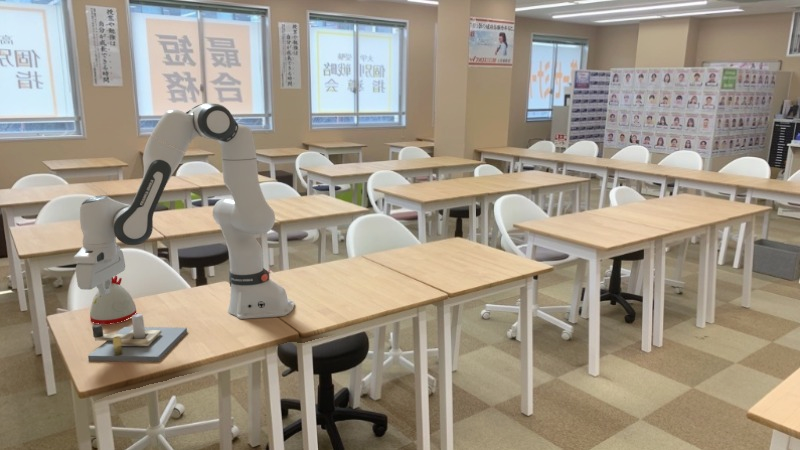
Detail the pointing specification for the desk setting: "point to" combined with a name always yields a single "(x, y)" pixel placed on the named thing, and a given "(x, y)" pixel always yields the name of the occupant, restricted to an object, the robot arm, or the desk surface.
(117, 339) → the gold rounded cylinder
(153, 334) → the knobbed lever handle
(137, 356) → the board
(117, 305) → the kitchen timer
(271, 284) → the robot arm
